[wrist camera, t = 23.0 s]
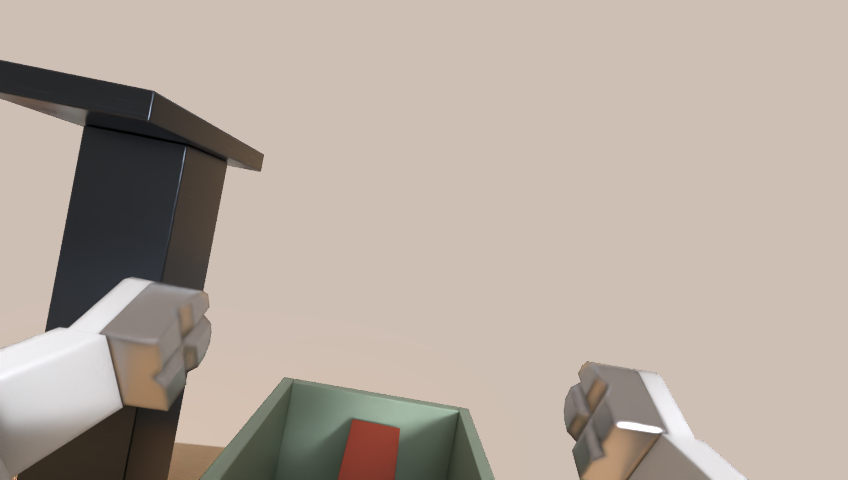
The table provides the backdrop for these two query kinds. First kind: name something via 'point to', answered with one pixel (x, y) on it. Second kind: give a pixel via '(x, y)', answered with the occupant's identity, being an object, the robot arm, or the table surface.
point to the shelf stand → (127, 235)
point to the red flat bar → (370, 452)
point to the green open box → (328, 432)
